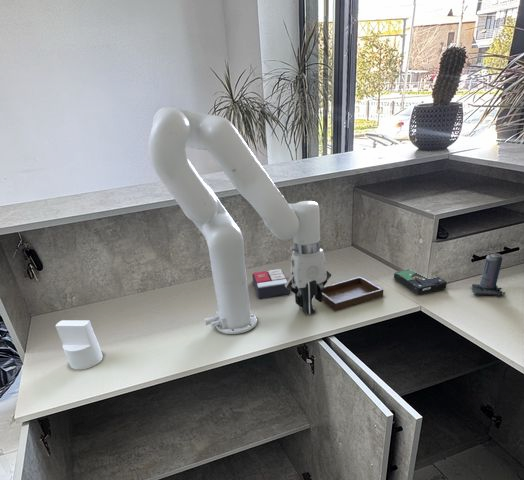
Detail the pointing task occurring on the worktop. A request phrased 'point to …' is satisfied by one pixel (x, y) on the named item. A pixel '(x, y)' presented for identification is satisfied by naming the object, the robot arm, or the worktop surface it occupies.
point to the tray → (350, 293)
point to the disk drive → (419, 282)
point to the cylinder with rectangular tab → (79, 343)
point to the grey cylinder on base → (489, 277)
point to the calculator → (270, 283)
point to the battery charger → (309, 296)
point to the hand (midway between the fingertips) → (309, 302)
